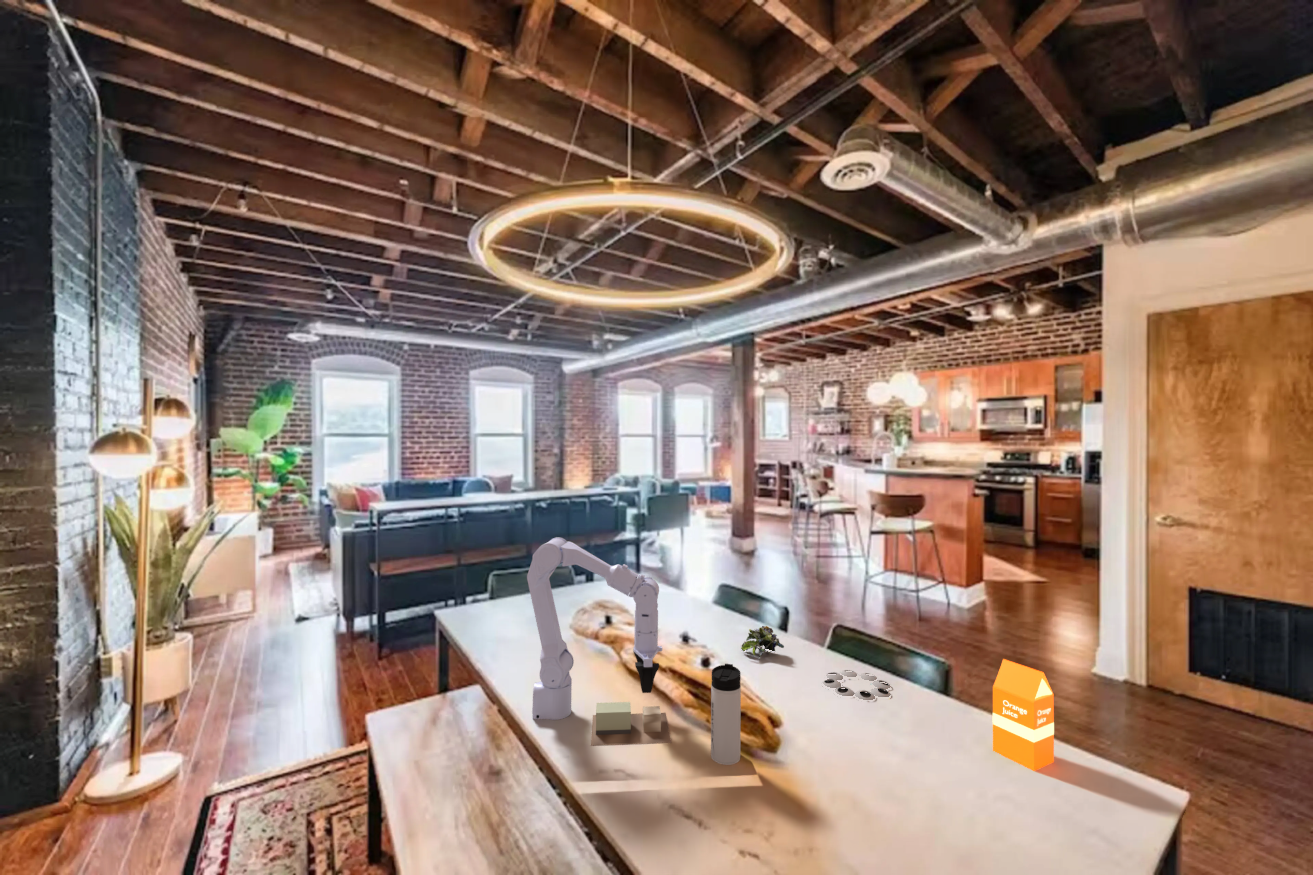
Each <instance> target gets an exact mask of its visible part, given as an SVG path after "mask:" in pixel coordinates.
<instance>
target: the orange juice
mask: <svg viewBox="0 0 1313 875" xmlns="http://www.w3.org/2000/svg"><path fill="white" fill-rule="evenodd" d="M1054 697H1055V695H1054V692H1053V690H1052V688H1051V686H1050V684H1049V681H1048V679H1047V677H1046V674H1045V673H1044V671H1041V670H1038V669H1036V668H1032V667H1029V666H1027V665H1023V664H1020V663H1017V662H1014V661H1011V660H1008V659H1005V658H1002V661H1001V665H1000V667H999V670H998V673H997V675H996V678H995V680H994V682H993V685H992V752H994V751H995V753H996V752H997V753H996V754H998V753H999V754H998V755H1000V754H1001V756H1002V757H1005V758H1007V759H1009V760H1010V761H1012V762H1014V763H1017V764H1019V765H1021V766H1023V767H1024V768H1027V769H1029V770H1031V771H1033V772H1036V771H1038V770H1040V769H1041V768H1045V767H1046V766H1048V765H1051V764H1052V763H1053V764H1054V762H1055V757H1054V756H1055V750H1054V749H1055V748H1054V747H1055V744H1054V743H1055V736H1054V735H1055V722H1054V721H1055V719H1054V717H1055V713H1054V711H1055V709H1054V707H1055V706H1054V705H1055V704H1054V703H1055V702H1054Z"/></svg>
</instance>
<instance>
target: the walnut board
mask: <svg viewBox="0 0 1313 875" xmlns="http://www.w3.org/2000/svg"><path fill="white" fill-rule="evenodd" d="M590 734H591V737H590V746H591V747H592V746H593V747H596V746H598V747H599V746H601V747H602V746H623V745H625V746H626V745H629V746H630V745H654V744H672V738H671V733H670V727H669V722H668V718H667V713H666V712H661V732H644V731H643V712H640V713H631V734H609V735H596V714H592V722H591V733H590Z"/></svg>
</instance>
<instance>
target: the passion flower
mask: <svg viewBox="0 0 1313 875" xmlns="http://www.w3.org/2000/svg"><path fill="white" fill-rule="evenodd" d="M777 636H778V635H777V634H776V633H774V630H773V628H772V627H769V626H767V625H762V626H760V627H759V628H755V629H754V630H753V629H751V628H749V629H748V636H747V638H746V640H744V641H743V643H742V644H741V647H740V650H741V649H742V650H741V651H743V652H744V651H745V650H747V651H748V650H749V649H752V654H753V656H756V650H758V657H759V656H760V657H761V656H762V654H764V653H765V652H766V650H765V649H769V650H772V651H775V652H776V647H779V648H782V649H784V648H785V646H784V644H782V643H780V638H777ZM763 647H764V648H763ZM772 651H771V652H772Z"/></svg>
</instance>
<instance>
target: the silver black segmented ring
mask: <svg viewBox="0 0 1313 875" xmlns="http://www.w3.org/2000/svg"><path fill="white" fill-rule="evenodd" d="M846 671H850V669H849V670H848V669H845V670H842V671H841V672H835V671H834V672H828V673H826V674H825V675H826V676H827V678H829V679H827V680H825V679H824V680H823V681H822V683H823V684H824V685H825V686H827V687H830V688H836V689H835V692H836V693H837V694H839V695H842V696H853V695H854V694H855V696H856V697H858V698H859V699H863V700H873V699H875V696H878V697H889V696H890V695H892V693H891V691H887V690H886V689H888V688H890V687H891V686H892V685H891V684H890V683H888V682H887V681H885V680H882V679H879V680H877V681H874V680H876V679H877V678H878V677H877V676H875V675H874V676H869V675H866V674H870V673H867V672H864V673H861V674H859V676H861V678H862V679H864V680H869V681H874V682H873V683H872V684H873V685H874V686H875V687H877V688H874V689H873V688H872V689H870V690H865V689H861V690H858V691H856V692H855V691H854V690H852V688H850V687H847V686H843V687H841V684H842V683H840V682H838V681H837V680H842V679H843V676H842V675H844V676H847V677H856V676H857V674H858V673H857V672H855V671H854V670H851V671H852V672H846ZM840 673H841V674H842V675H840ZM828 674H836V675H828ZM825 681H832V682H825ZM833 681H834V682H833ZM880 682H885V683H887V684H889V685H886V684H883V683H880ZM890 685H891V686H890ZM839 688H845V689H848V690H846V692H840V691H839V690H840V689H839ZM877 689H882V690H881V691H883V690H885V691H887V692H888V693H887V692H886V693H887V694H885V693H883V692H880V690H877ZM870 691H871V692H870ZM885 691H884V692H885ZM860 692H867V693H870V694H871V695H870V694H869V695H870V696H869V697H864V696H863V695H862V694H861V693H860ZM874 695H875V696H874Z"/></svg>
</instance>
